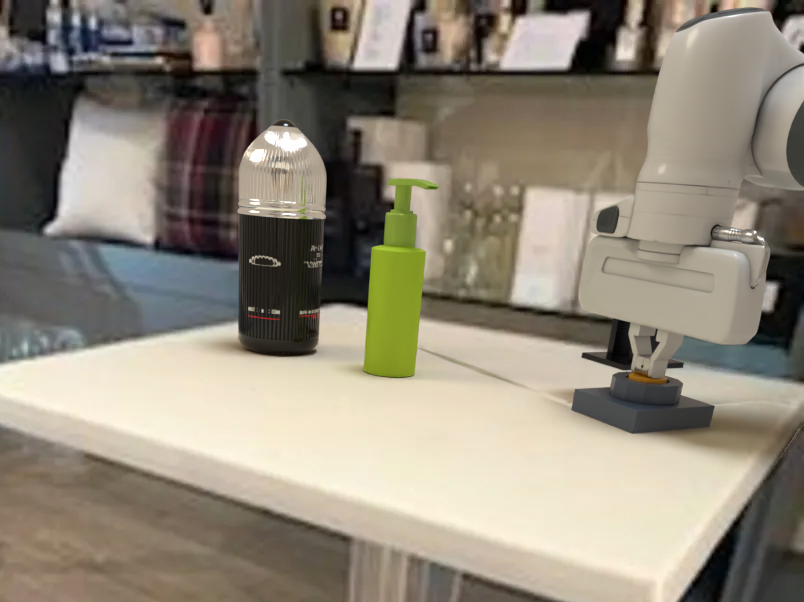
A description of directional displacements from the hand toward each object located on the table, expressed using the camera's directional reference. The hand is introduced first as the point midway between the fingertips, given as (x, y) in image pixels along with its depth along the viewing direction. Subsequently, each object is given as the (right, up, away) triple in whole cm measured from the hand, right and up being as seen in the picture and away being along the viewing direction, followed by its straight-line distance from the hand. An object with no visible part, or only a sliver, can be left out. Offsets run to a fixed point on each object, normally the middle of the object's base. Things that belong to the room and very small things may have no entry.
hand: (647, 375), depth 85 cm
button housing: (0, -4, +2) cm, 4 cm away
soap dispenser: (-24, +4, +15) cm, 29 cm away
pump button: (0, -2, +1) cm, 2 cm away
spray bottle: (-38, +9, +23) cm, 45 cm away
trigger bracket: (+7, +8, +27) cm, 29 cm away
